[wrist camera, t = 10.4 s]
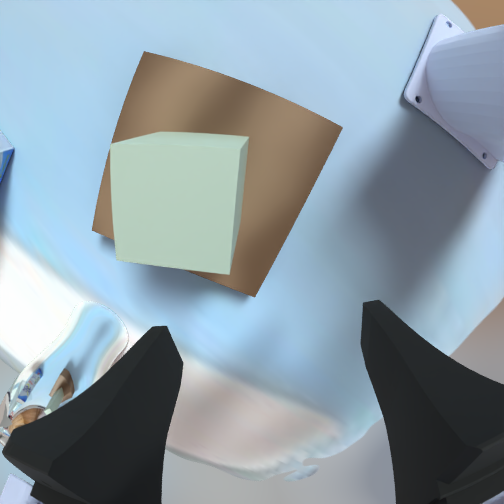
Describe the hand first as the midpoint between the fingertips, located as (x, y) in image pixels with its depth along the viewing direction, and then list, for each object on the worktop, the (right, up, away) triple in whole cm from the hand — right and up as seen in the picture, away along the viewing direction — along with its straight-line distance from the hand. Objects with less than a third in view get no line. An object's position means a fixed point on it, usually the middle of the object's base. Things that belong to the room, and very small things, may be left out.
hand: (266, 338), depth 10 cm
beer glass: (-15, -4, +14) cm, 21 cm away
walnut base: (-3, +8, +8) cm, 12 cm away
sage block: (-3, +7, +6) cm, 10 cm away
